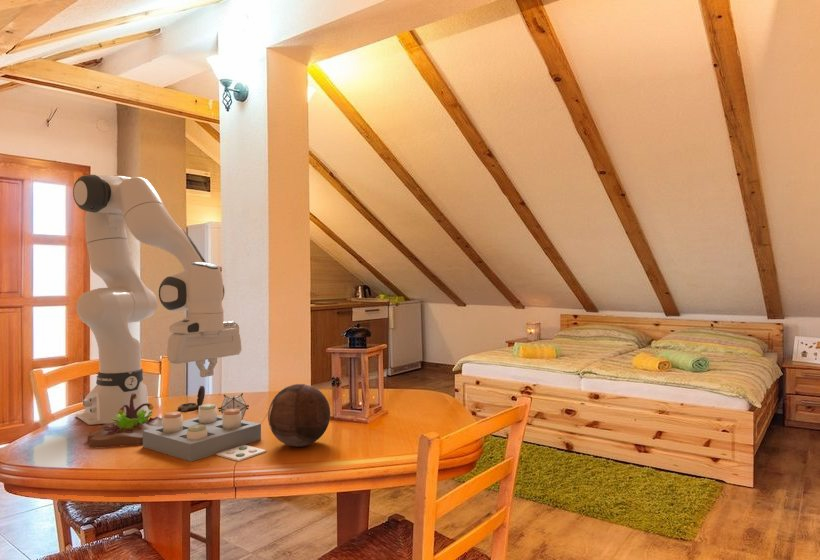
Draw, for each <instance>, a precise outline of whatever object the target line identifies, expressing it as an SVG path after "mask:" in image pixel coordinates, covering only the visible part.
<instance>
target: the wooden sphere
mask: <svg viewBox="0 0 820 560" xmlns="http://www.w3.org/2000/svg"><path fill="white" fill-rule="evenodd" d="M267 420H268V426H269V428H270V430H271V432H272V435H274V437H275V438H276V439H277V440H278V441H280V442H281V443H282V444H284V445H287V446H290V447H294V448H295V447H296V448H298V447H299V448H300V447H306V446H309V445H312V444H313V443H315V442H317V441H318V440H320V439H321V437H323V435H324V434H325V433H326V431H327V429H328V427H329V424H330V420H331V407H330V405H329V401H328V400H327V397H326V396H325V395H324V393H323V392H322V391H320V389H318V388H316V387H315V386H312V385H309V384H305V383H296V384H292V385H291V384H290V385H289V386H286V387H283V389H281V390H280V391H279V392H278V393H277V394H276V395H275V396H274V397H273V399H272V400H271V402H270V405H269V408H268V413H267Z"/></svg>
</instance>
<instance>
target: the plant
mask: <svg viewBox="0 0 820 560" xmlns="http://www.w3.org/2000/svg"><path fill="white" fill-rule="evenodd" d="M136 398H137V395H136V394H135V393H132V394H131V398H130V405H129V407H130V408H129V407H128V405H124V406H123V407H122V408H120V409H119V410H118V416H117V415H116V417H117V418H119V419H120V421H119V420H116V419H112V418H111V419H112V420H113V421H115V422H113V423H107V424H102V425H101V426H99V427H98V428H97V429H96V430H95V431H91V432H89V434H88V435H87V444H89V443H90V444H89V447H90V446H91V448H95V447H98V448H99V447H105V448H112V447H111V446H114V447H121V446H120V445H126V446H141V444H142V445H143V431H144V430H148V429H152V428H156V427H160V426H163V417H160V416H155V417H152V416H153V415H154V413H152V412H151V413H148V415H147V416H146V417H144V416H145V414H146V412H147V411H145V410H141V411H139V412H138V410H139V409H140V408H142V407H143V406H148V409H149V410H152V411H153V410H154V405H153V404H152V403H149V402H148V403H145V404H142V405H140V406H139V407H138V408H136V409H135V408H134V404H133V403H134V402H133V399H136ZM124 407H126V414H124V413H123V412H124ZM137 412H138V413H137ZM99 449H100V448H99Z"/></svg>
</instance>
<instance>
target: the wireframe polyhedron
mask: <svg viewBox="0 0 820 560" xmlns="http://www.w3.org/2000/svg"><path fill="white" fill-rule="evenodd" d="M243 395H244V393H243V392H242V393H241V394H240V395H226V394H223V398H224V399H223V401H222V403H221V406H220V407H217V410H218V412H219V413H221V414H222V413H224V412H223V411H224V410H227V409H240V411H241V420H244V416H245V413H246V410H249V407H250V405H249V404H246V402H245V399H244V398H243Z"/></svg>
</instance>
